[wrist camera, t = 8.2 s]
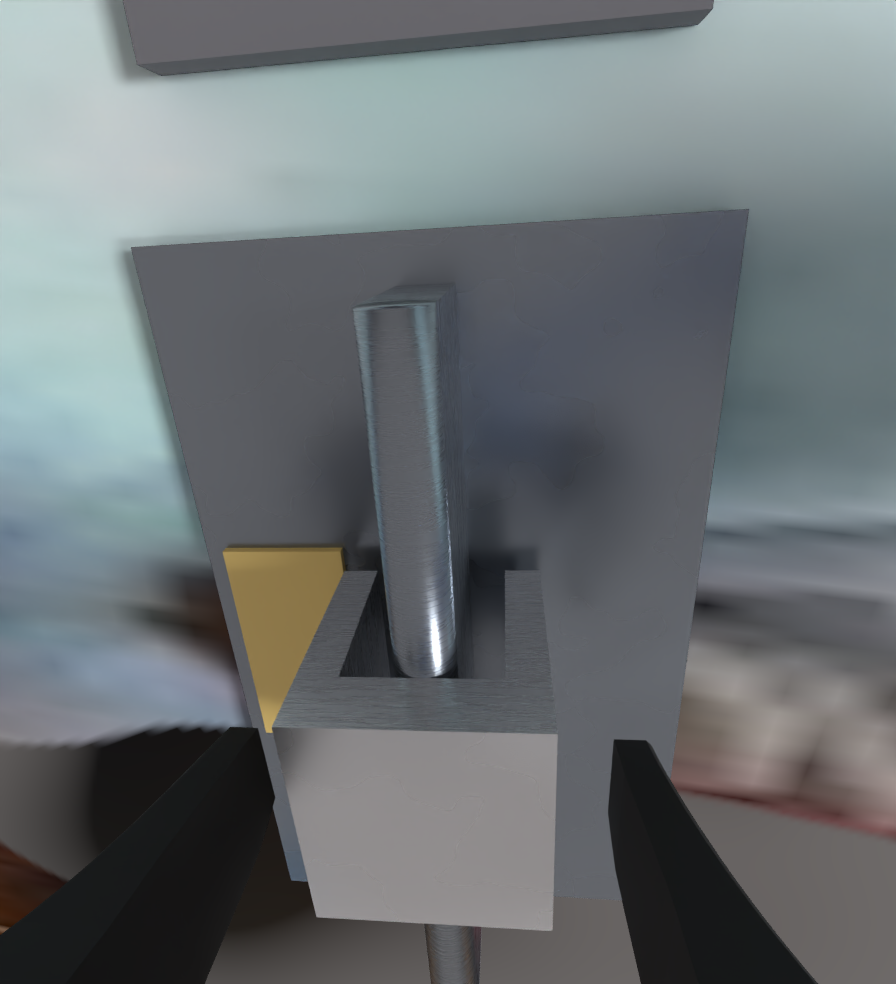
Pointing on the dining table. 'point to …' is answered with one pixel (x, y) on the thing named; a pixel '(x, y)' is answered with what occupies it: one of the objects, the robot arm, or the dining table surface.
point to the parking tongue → (369, 27)
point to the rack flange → (462, 466)
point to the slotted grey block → (423, 773)
